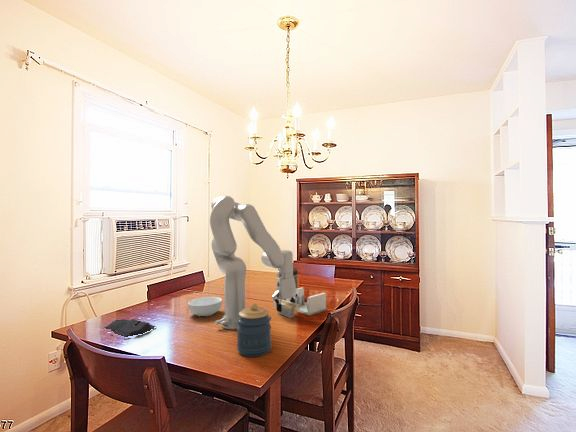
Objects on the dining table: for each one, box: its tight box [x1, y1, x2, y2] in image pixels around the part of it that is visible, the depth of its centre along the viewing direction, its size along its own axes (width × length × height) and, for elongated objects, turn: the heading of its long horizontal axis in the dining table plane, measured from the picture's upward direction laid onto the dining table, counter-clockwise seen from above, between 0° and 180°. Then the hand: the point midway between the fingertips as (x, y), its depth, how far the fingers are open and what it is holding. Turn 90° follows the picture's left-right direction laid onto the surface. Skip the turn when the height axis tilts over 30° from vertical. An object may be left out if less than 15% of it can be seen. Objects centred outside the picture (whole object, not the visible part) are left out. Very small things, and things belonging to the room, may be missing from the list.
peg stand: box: [286, 286, 327, 316], centre depth 167 cm, size 12×18×9 cm, turn 41°
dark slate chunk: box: [103, 318, 157, 337], centre depth 141 cm, size 15×22×5 cm
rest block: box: [277, 310, 295, 319], centre depth 158 cm, size 3×9×4 cm, turn 41°
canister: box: [236, 302, 272, 358], centre depth 119 cm, size 13×13×18 cm
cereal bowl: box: [187, 296, 223, 317], centre depth 161 cm, size 17×17×7 cm
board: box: [272, 299, 299, 312], centre depth 158 cm, size 6×13×2 cm, turn 41°
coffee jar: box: [282, 267, 299, 300], centre depth 186 cm, size 10×8×19 cm
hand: (286, 309), depth 158 cm, fingers open, 8 cm apart
